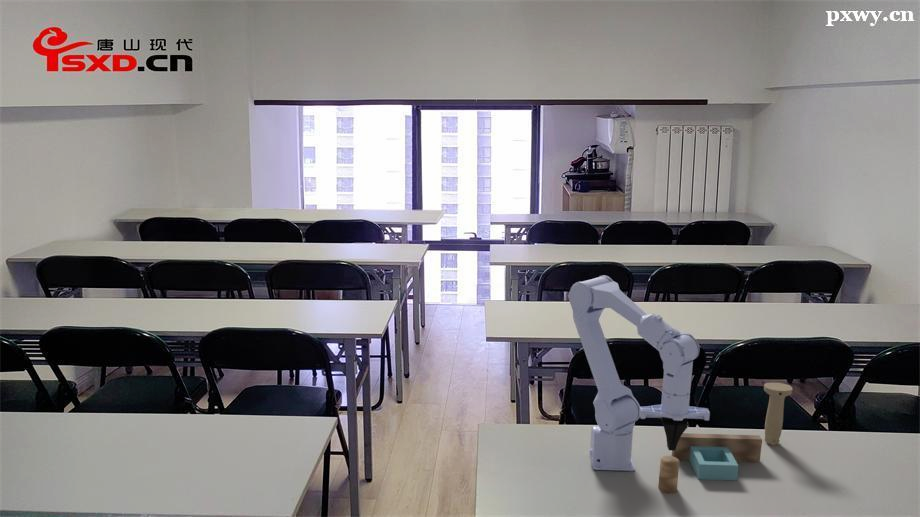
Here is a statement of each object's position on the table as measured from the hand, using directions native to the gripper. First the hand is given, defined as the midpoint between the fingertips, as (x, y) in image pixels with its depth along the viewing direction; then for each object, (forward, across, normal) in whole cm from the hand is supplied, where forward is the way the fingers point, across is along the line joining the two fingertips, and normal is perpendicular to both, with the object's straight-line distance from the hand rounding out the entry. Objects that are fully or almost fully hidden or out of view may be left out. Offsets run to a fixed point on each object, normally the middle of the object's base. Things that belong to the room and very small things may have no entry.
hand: (671, 448), depth 176 cm
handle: (+10, +30, +23) cm, 39 cm away
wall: (+10, +14, +14) cm, 22 cm away
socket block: (+10, +12, +9) cm, 18 cm away
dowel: (+10, 0, 0) cm, 10 cm away
